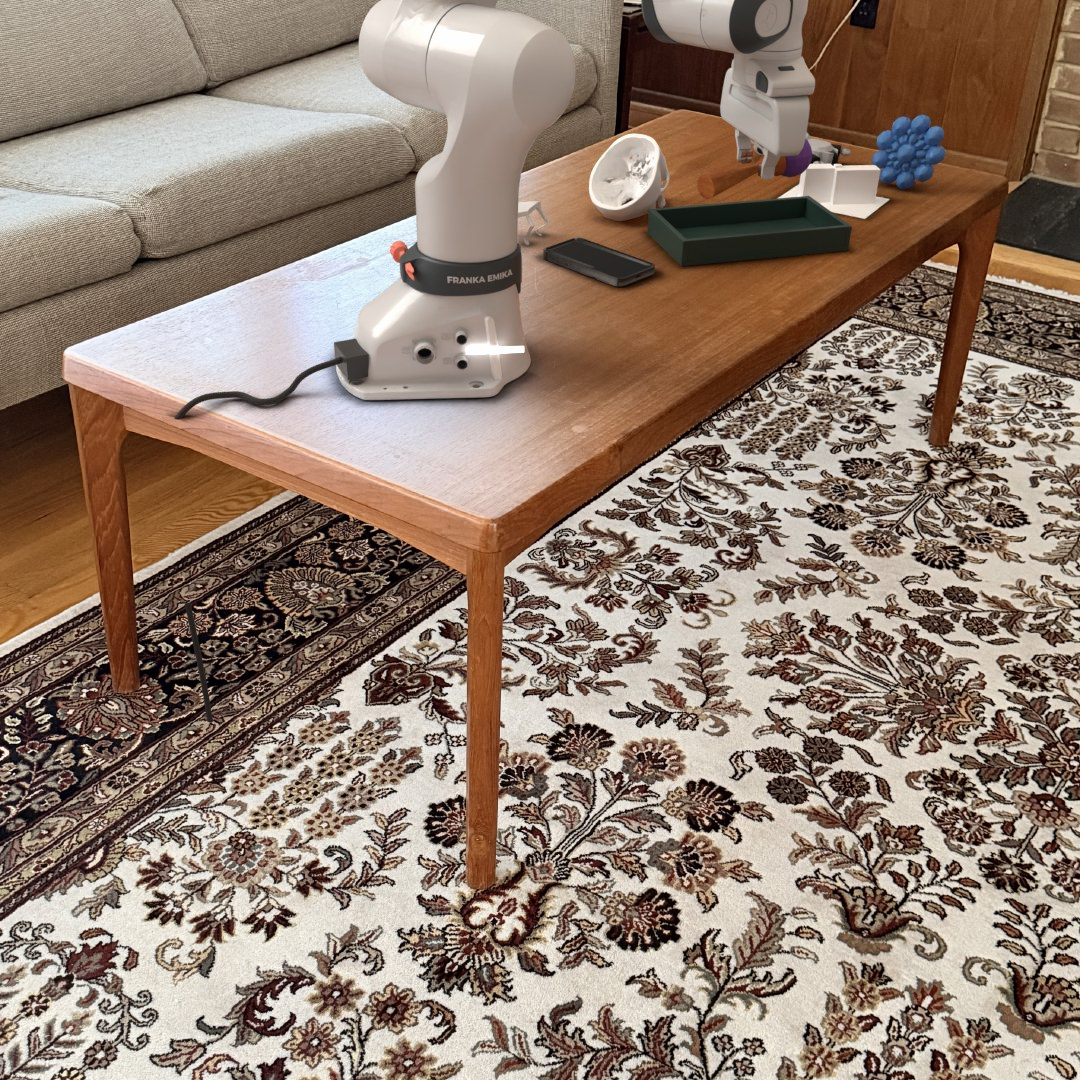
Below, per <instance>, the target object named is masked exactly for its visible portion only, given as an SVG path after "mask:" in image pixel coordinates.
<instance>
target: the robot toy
mask: <svg viewBox="0 0 1080 1080" xmlns="http://www.w3.org/2000/svg"><path fill="white" fill-rule="evenodd" d="M806 139H807V140H808V142H809V144H810V146H811V149H812V160H811V163H810V164H831V165H832V166H834V164H838V162H839V160H840V156H841V155H842V156H844V157H849V156H851V151H852V150H850V149H849V148H842V147H843V146H842V145H841V144H835V143H831V142H830V141H826V140H823V139H818V138H814V137H811V135H810V134H809V132H808V131H807V132H806ZM751 145H753V151H755V152H756V154H757V155H759V156H762V155H763V148H764V147H762V146H761V145H759V144H758V143H757V142H755V141H754V140H752V139H751Z"/></svg>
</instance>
